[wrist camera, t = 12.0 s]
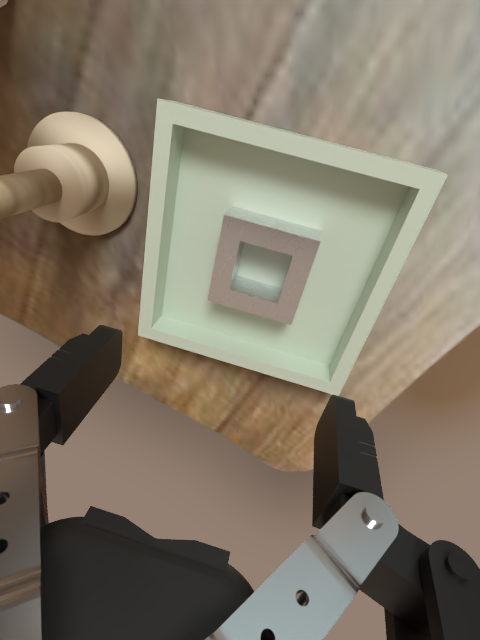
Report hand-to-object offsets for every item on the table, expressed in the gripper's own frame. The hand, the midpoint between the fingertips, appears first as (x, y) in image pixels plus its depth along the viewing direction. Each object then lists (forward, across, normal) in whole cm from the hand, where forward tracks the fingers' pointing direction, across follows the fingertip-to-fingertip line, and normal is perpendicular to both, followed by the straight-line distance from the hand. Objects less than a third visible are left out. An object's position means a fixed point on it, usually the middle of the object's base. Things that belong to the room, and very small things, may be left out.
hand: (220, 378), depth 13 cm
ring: (+14, 0, 0) cm, 14 cm away
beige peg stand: (+14, +14, -2) cm, 20 cm away
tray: (+14, 0, 0) cm, 14 cm away
